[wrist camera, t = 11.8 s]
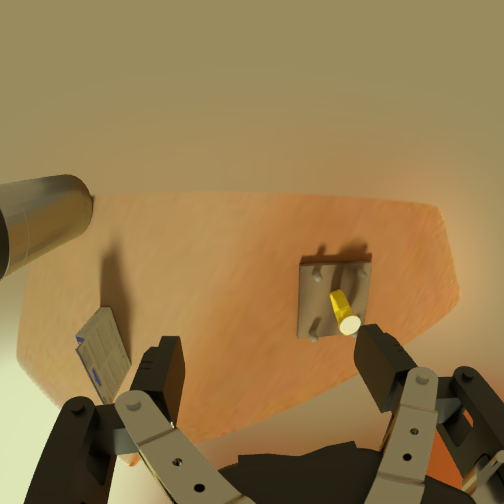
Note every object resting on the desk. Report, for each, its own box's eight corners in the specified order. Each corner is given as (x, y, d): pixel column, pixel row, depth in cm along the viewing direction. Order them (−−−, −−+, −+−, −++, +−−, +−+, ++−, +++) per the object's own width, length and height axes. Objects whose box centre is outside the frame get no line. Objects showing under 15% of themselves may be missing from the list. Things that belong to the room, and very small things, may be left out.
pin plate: (296, 334, 42) (300, 346, 39) (299, 263, 38) (303, 271, 35) (360, 328, 42) (367, 339, 39) (369, 260, 38) (377, 267, 36)
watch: (321, 288, 38) (334, 308, 33) (340, 280, 38) (355, 300, 32) (332, 323, 40) (344, 346, 34) (350, 316, 40) (364, 338, 34)
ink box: (98, 306, 40) (62, 347, 29) (111, 305, 40) (76, 347, 29) (120, 366, 43) (96, 413, 32) (132, 366, 43) (109, 414, 32)
